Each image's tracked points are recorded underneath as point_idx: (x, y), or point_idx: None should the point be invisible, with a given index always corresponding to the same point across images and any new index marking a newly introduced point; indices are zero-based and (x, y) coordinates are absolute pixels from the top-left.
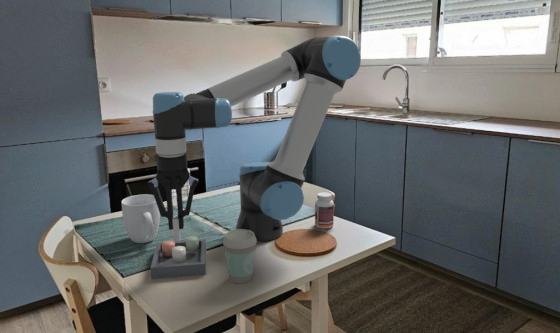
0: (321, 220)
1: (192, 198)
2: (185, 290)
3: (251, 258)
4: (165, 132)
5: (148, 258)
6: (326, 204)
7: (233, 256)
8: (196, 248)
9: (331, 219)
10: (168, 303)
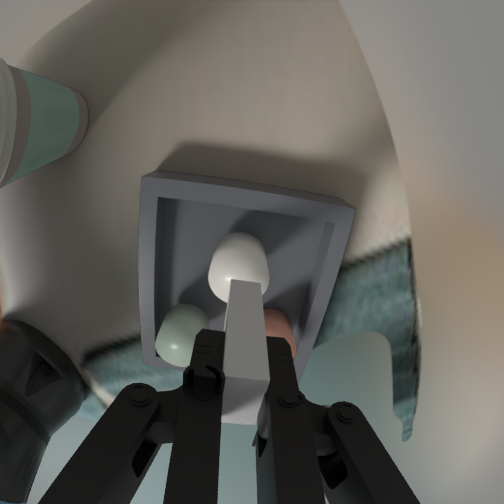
0: None
1: (45, 495)
2: (238, 77)
3: None
4: None
5: (327, 332)
6: None
7: (23, 70)
8: (170, 311)
9: None
10: (300, 23)
